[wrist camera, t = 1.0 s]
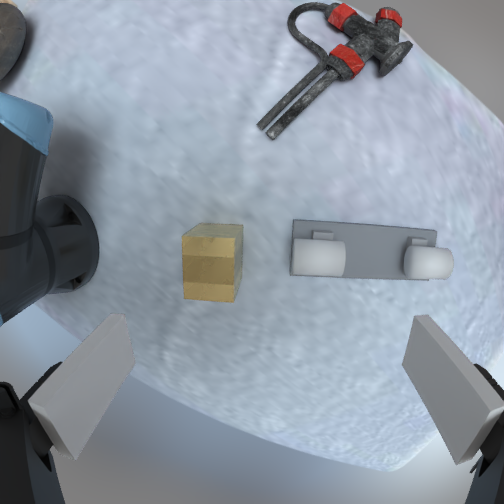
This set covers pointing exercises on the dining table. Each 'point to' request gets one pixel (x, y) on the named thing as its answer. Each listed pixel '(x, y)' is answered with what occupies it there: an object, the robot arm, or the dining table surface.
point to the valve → (341, 55)
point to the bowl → (10, 36)
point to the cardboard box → (212, 262)
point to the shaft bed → (367, 252)
